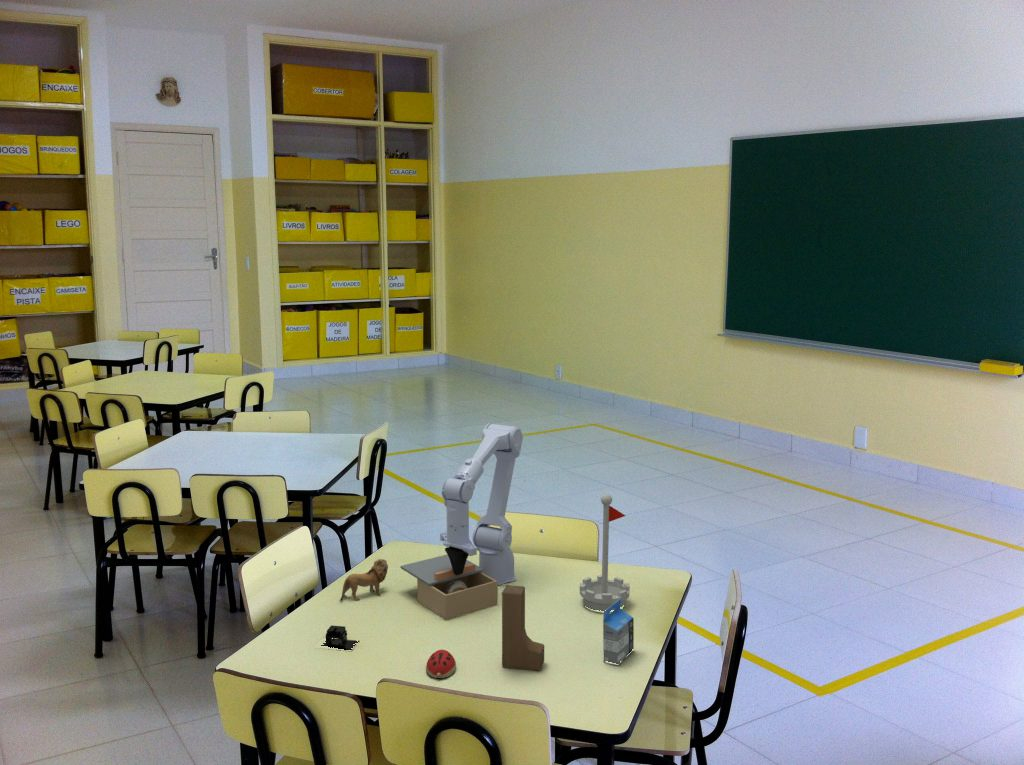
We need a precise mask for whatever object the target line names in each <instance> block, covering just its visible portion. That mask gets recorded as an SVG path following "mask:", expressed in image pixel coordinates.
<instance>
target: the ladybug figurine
mask: <svg viewBox="0 0 1024 765" xmlns="http://www.w3.org/2000/svg"><path fill="white" fill-rule="evenodd" d="M456 668H457V662H456V659H455V657H454V655H452V654H451V653H450V651H448V650H446V649H441V648H440V649H438V650H436V651H434V652H433V653H432V654H431V655H430V656H429V658H428V659H427V662H426V666H425V670H426V673H427V674H428V676H430V677H431V676H432V677H431V678H433V677H434V679H437V678H442V679H445V677H446V678H449V677H450V676H452V675H453V674H454V672H455V671H456V670H457V669H456Z"/></svg>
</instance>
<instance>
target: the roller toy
mask: <svg viewBox="0 0 1024 765" xmlns="http://www.w3.org/2000/svg"><path fill="white" fill-rule="evenodd" d="M464 589H468V588H467V587H466V585H465V584H464V583H463V582H461V581H453V582H451V583H450V584H449V585H448V586H447V588H446V591H445V593H446V594H450V593H453V592H457V591H461V590H464Z"/></svg>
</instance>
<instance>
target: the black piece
mask: <svg viewBox="0 0 1024 765" xmlns="http://www.w3.org/2000/svg"><path fill="white" fill-rule="evenodd" d="M347 632H348V630H347V629H346V626H345V625H343V626H341V625H333V624H332V625H330V626H329V627H328V629H326V633H325V637H324V638H326V641H325V642H326V643H323V644H324V645H321V646H328V647H330V648H331V647H332V648H333V647H334V648H338V649H344V650H352V649H351V648H353V646H355V645H356V644H355V643H358V642H359V643H360V640H358V642H357V641H356V639H348V633H347ZM332 638H333V639H332ZM359 643H358V644H359ZM353 644H355V645H353ZM356 646H357V645H356ZM352 651H353V650H352Z"/></svg>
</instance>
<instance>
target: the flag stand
mask: <svg viewBox="0 0 1024 765" xmlns="http://www.w3.org/2000/svg"><path fill="white" fill-rule="evenodd" d="M600 502H601V504H602V506H603V508H602V509H603V513H602V517H603V518H602V554H601V555H602V556H601V558H602V559H601V575H596V577H597V578H596V579H592V578H591V577H590V576H588V577H585V578H583V579H582V582H580V583H579V596H580V597H581V598H583V599H582V601H583V602H582V603H584V605H585V606H586V607H588V608H590V609H593V610H599V611H600V610H601V611H605V610H607V609H608V608H609V607H610V606H612V605H613V604H614V603H615V602H617V601H618V600H620V599H621V603H620V607H622V606H623V605H624V604H625V605H626V601H627V600H628V599H629V597H630V587H631V586H630V584H629V582H626V583H624V579H623V578H621V577H617V576H615V577H614V578H613V580H612V579H609V577H608V576H609V539H610V538H609V536H610V535H609V533H610V532H609V530H610V529H609V528H610V526H609V525H610V522H613V521H616V520H618V519H622V518H623V517H627V515H625V514H624V513H622V512H621V511H620V510H618V509H616V508H614V507H613V506H611V504H612V502H613V497H612V495H610V494H608V493H604V494H602V495H601V497H600ZM616 596H617V597H616ZM584 605H583V606H584ZM585 606H584V607H585ZM586 607H585V608H586ZM614 609H615V608H614ZM614 609H613V608H612V610H614Z"/></svg>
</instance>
